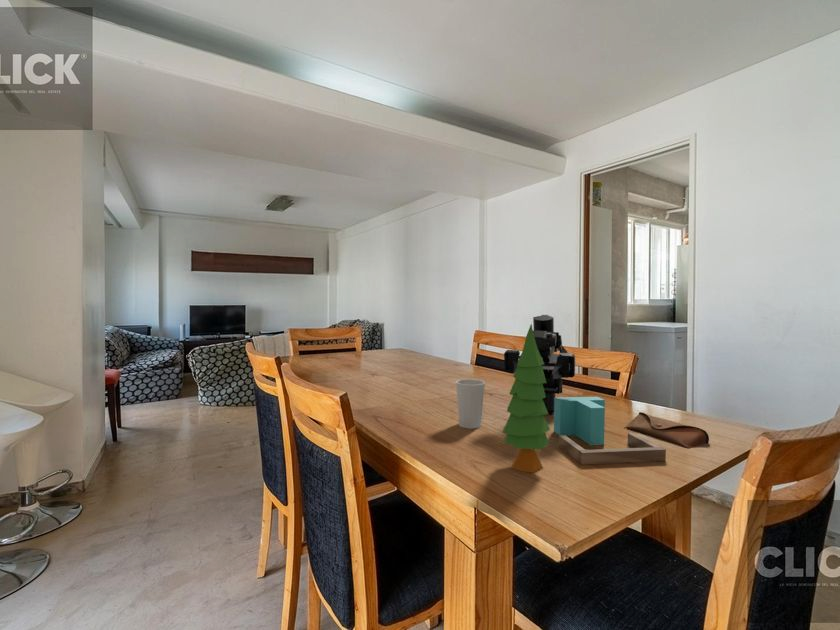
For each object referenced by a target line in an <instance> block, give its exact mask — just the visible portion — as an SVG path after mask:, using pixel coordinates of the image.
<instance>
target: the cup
mask: <svg viewBox="0 0 840 630" xmlns="http://www.w3.org/2000/svg"><path fill="white" fill-rule="evenodd" d="M455 383H456V385H455V386H456V397H457V409H458V410H457V413H458V426H459V427H460V428H463V429H470V430H471V429H472V430H473V429H479V428H481V427H482V423H483V420H482V418H483V409H484V408H483V406H484V397H485V396H484V395H485V387H486V386H485V385H486V381H484V380H480V379H475V378H472V379H471V378H463V379H459V380H456V381H455Z"/></svg>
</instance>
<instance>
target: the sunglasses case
mask: <svg viewBox="0 0 840 630" xmlns="http://www.w3.org/2000/svg"><path fill="white" fill-rule="evenodd" d="M623 427H624V428H623V429H625V428H627V429H626V430H629V429H630V431H632V430H633V432H636V431H637V432H636V433H639V432H640V434H643V435H646V436H649V437H652V436H653V437H652V438H655V437H656V438H655V439H659V440H662V441H665V442H669V443H671V442H672V444H674V443H675V444H674V445H677V444H678V445H677V446H681V447H683V448H687V449H693V448H695V447H699V446H700V447H701V446H703V445H706V444H709V443H710V437H709V436H710V435H709V434H708V432H707V431H706V430H704V429H703V428H700V427H697V426H692V425H686V424H682V423H679V422H676V421H672V420H669V419H665V418H661V417H657V416H653V415H650V414H648V413H645V412H641V411H640V412H638V414H637V415H636V416H635V417H634V418H633V419H632V420H631V421H630V422H629V423H628V424H626V426H623Z"/></svg>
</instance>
